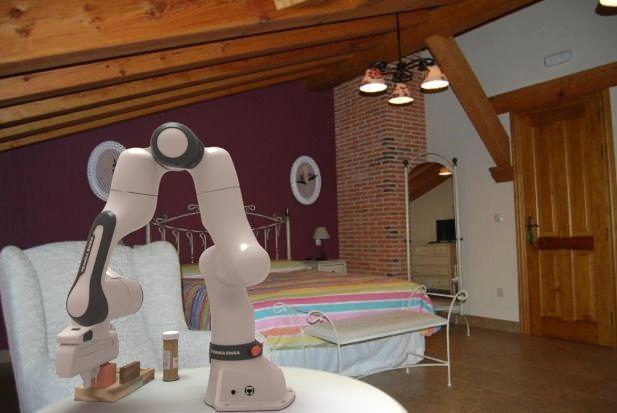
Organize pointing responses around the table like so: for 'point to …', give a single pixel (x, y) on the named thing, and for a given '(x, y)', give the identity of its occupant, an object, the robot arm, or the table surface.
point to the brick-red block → (106, 375)
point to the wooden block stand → (118, 384)
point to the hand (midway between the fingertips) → (89, 386)
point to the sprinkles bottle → (170, 355)
